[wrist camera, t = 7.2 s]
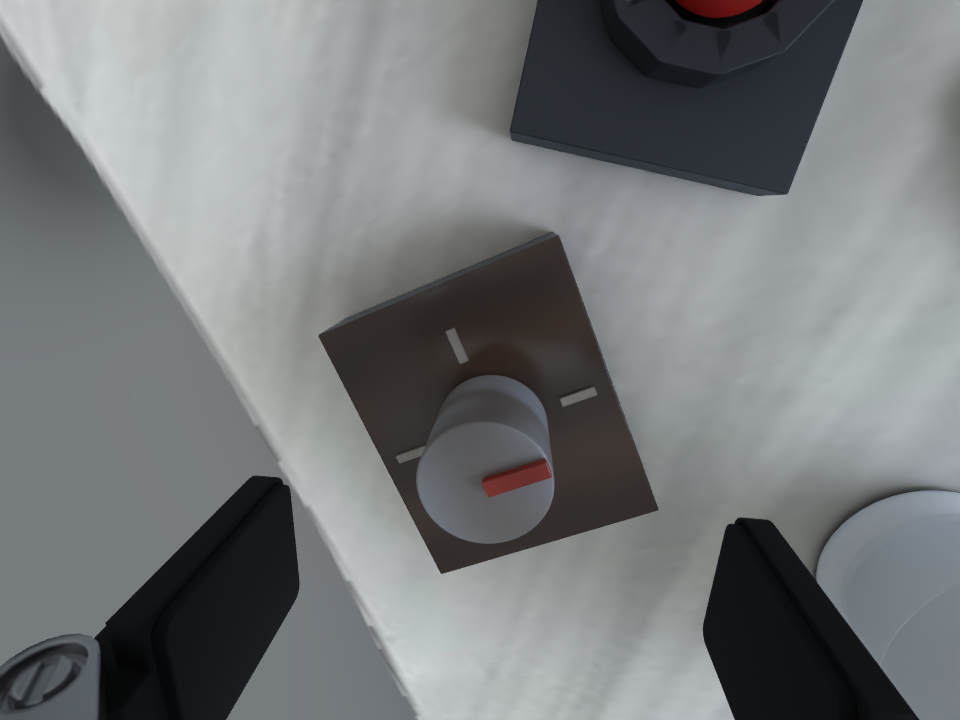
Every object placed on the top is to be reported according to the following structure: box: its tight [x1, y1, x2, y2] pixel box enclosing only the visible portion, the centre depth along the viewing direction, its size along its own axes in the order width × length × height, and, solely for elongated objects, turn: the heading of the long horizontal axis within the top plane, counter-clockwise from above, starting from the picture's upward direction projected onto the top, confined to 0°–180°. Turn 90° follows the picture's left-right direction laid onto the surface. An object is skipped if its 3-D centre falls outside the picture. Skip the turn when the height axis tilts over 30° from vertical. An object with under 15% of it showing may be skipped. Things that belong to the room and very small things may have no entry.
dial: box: [416, 375, 554, 544], centre depth 17 cm, size 4×4×5 cm
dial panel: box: [319, 232, 658, 574], centre depth 21 cm, size 12×10×3 cm
